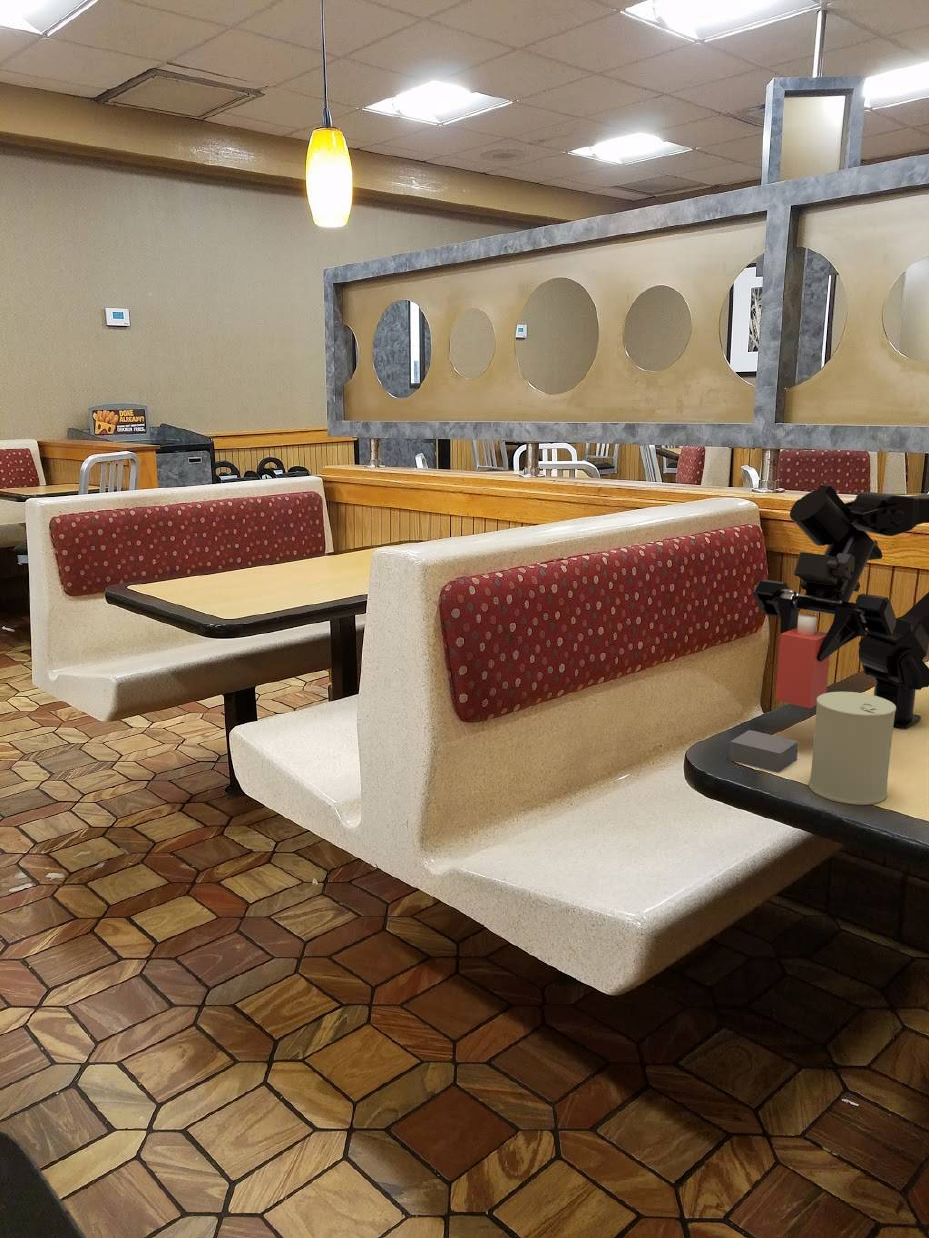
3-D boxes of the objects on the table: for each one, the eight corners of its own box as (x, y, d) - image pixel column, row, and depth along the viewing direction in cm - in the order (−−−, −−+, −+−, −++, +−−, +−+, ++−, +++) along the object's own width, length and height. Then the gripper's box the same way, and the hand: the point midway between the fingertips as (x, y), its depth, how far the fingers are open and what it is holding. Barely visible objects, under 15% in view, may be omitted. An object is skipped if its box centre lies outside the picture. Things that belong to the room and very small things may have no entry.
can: (838, 808, 116) (847, 713, 113) (793, 780, 125) (801, 690, 122) (903, 800, 119) (914, 707, 116) (855, 772, 127) (863, 685, 124)
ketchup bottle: (791, 692, 138) (798, 610, 135) (825, 699, 135) (833, 615, 132) (775, 700, 135) (781, 616, 132) (809, 708, 131) (817, 622, 129)
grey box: (747, 750, 136) (749, 729, 135) (796, 762, 132) (798, 741, 131) (728, 762, 132) (730, 741, 131) (778, 775, 127) (780, 753, 127)
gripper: (764, 523, 139) (719, 611, 133) (897, 537, 126) (853, 634, 121) (785, 571, 146) (744, 655, 141) (913, 588, 133) (873, 682, 128)
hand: (799, 656), depth 132 cm, fingers closed on ketchup bottle, 5 cm apart
